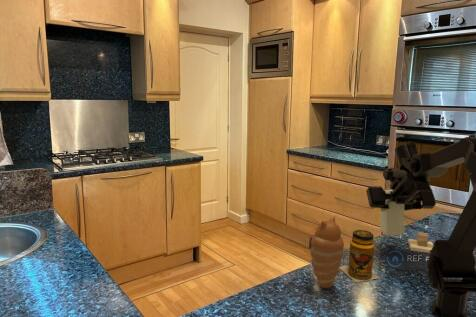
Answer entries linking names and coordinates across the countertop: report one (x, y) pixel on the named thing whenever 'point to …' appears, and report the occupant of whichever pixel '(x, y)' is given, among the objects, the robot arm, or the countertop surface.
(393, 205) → the tan rectangular pillar
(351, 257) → the condiment
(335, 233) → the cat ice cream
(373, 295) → the countertop surface
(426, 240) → the square plate with knob
